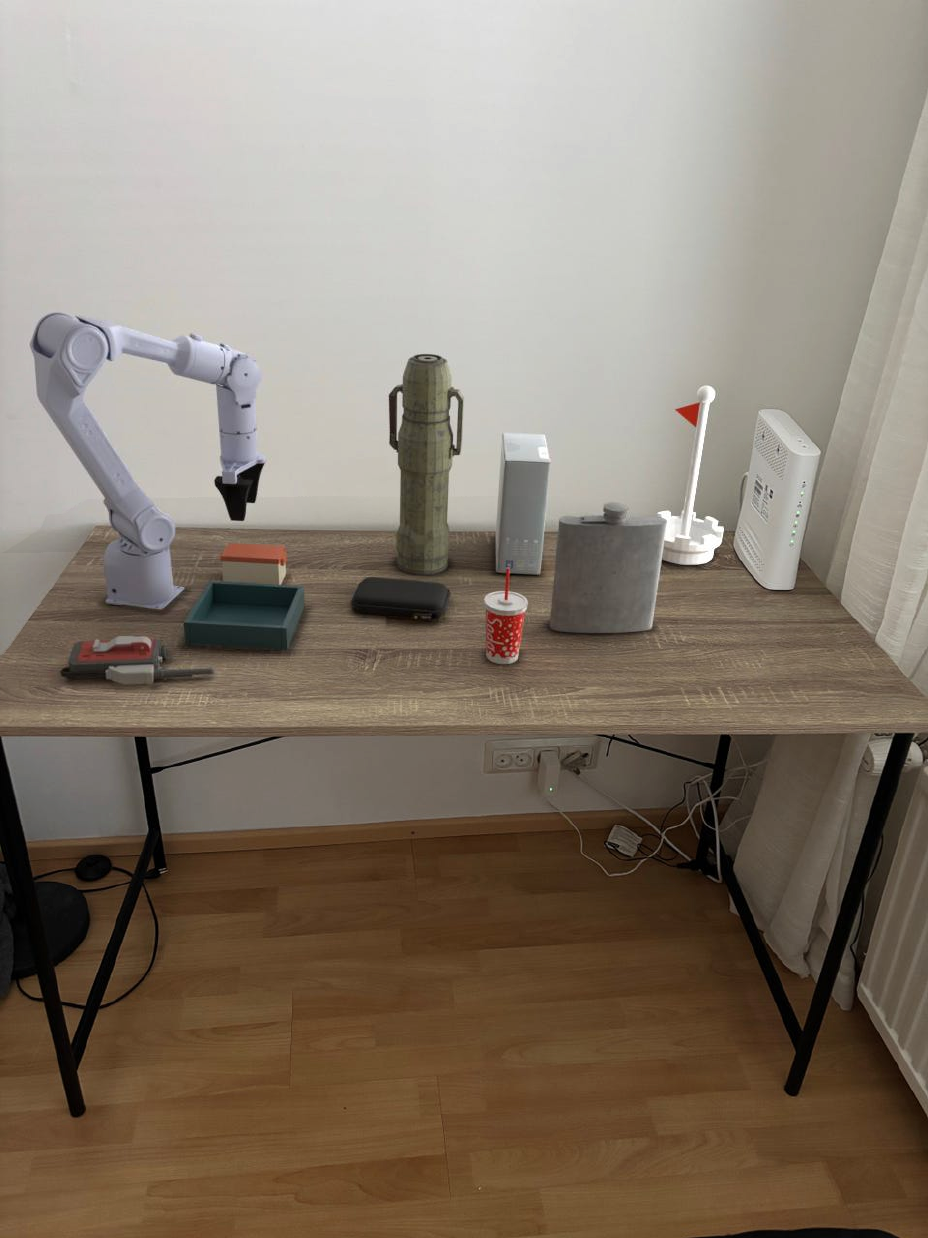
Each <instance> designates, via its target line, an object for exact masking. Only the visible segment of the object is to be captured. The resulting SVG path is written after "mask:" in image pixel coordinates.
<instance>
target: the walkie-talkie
mask: <svg viewBox="0 0 928 1238" xmlns="http://www.w3.org/2000/svg"><path fill="white" fill-rule="evenodd" d="M167 649H168V648H167V645H166V644H162V639H160V638H151V637H149V636H148V635H134V636H133V635H118V636H115V637H114V638H113V639H111V640H100V639H97V638H96V639H94V640H89V641H88V640H85V641H77V642H74V643H73V646H72V649H71V651H70V654H69V657H68V666H66V667H63V668H61V669H60V671H59V672H60V677H63V678H72V679H74V680H76V679H79V680H80V679H84V680H85V679H94V678H95V679H99V678H105V679H106V680H110V681H112V682H114V683H115V682H116V683H118V684H120V685H125V686H126V685H143V684H144V685H145V684H146V685H153V684H154V681H155V680H164V679H170V678H171V679H172V678H173V679H174V678H190V677H191V678H192V677H193V676H198V675H214V674H215V670H214V668H212V667H209V668H208V667H207V668H206V667H205V668H185V669H182V668H181V669H163V666H161V664H162V663H163V660H165V661H166V660H167V659H168V658H167V657H168V650H167Z"/></svg>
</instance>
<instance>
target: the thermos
mask: <svg viewBox="0 0 928 1238" xmlns="http://www.w3.org/2000/svg"><path fill="white" fill-rule="evenodd" d="M452 381H453V380H452V374H451V369H450V366H449V362H448V360H447V359H446V358H444V357H442V356H441V355H439V354H432V353H419V354H415V355H412V356H411V357H409V358H408V359H407V362H406V364H405V367H404V370H403V375H402V383H401V384H396V386H394V388H393V389H392V390H391V391H390V392H389V394H388V422H389V423H388V425H389V426H388V427H389V437H388V438H389V439H388V440H389V441H388V444H389V446H390V447H391V448H392V449H393V450H394V451H395V452H396V453H397V466H398V468H399V470H400V477H399V478H400V481H399V483H400V487H399V488H400V489H399V526H398V528H397V531H396V537H395V540H396V541H395V542H396V544H395V545H396V546H395V550H396V554H397V559H396V565H397V568H398V569H400V570H401V571H403V572H405V573H408V574H413V575H422V576H428V575H434V574H435V575H436V574H439V573H441V572H444V571H445V570H446V569H448V565H449V560H448V559H449V556H448V555H449V553H450V543H451V542H450V541H451V531H450V528H449V524H448V513H449V512H448V510H449V509H448V508H449V507H448V506H449V486H450V485H449V483H450V482H449V481H450V471H451V469H452V466H453V458H454V457H455V456H461V452H462V448H463V447H462V445H463V431H464V430H463V428H464V427H463V426H464V424H463V423H464V408H465V407H464V405H465V397H464V395H463V394H462V392H461V391H460V389H457V388H455V386H452ZM399 392H400V393H401V394H402V397H401V398H402V402H401V403H402V408H403V412H402V415H401V424H400V427H399V430H398V393H399ZM452 397H455V399H456V400H457V424H456V425H457V426H456V444H454V432H453V429H452V425H451V416H450V409H451V407H452V406H451V405H452Z"/></svg>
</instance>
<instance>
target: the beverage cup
mask: <svg viewBox="0 0 928 1238" xmlns="http://www.w3.org/2000/svg"><path fill="white" fill-rule="evenodd" d="M510 574H511V573H510V568H509V567H507V569H506V573H505V586H504V590H498V591H493V592H490V593H488V594H486V595H485V597H484V599H483V603H484V604H483V606H484V608H485V647H486V648H485V649H486V650H485V655H486V658H487V660H489V661H490V662H492V663H494V664H499V665H508V664H509V665H511V664H513V663H515V662H516V661H518V659H519V653H520V646H521V640H522V634H523V627H524V621H525V613H526V611H527V609H528V604H529V600H528V599H527V597H525V596H524V595H522V594H521V593H518V592H514V591H510V589H509V587H510Z"/></svg>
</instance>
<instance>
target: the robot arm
mask: <svg viewBox="0 0 928 1238" xmlns="http://www.w3.org/2000/svg"><path fill="white" fill-rule="evenodd" d="M74 317H75V318H76V319H75V318H73V316H71V315H69V314H66V313H64V312H60V311H56V312H55V311H54V312H50V313H47V314H46V315H44V316H42V317H41V318H40V319H39V320H38V322H37V323H36V326H35V328H34V331H33V334H32V336H31V339H30V342H29V347H30V350H31V353H32V356H33V361H34V373H35V387H36V396H37V399H38V401H39V402H40V404H41V406H42V407H43V409H44V410H45V411H46V413H47V414H48V416H49V418H50V419H51V420H52V422H53V423H54V425H55V426H56V429H58V431H59V433H60V434H61V435H62V437H63V439H64V440H65V441H66V443H67V444H68V446H69V447H70V448H71V450H72V452H73V453H74V455H75V456H76V457H77V459H78V460H79V462H80V463H81V465H82V466H83V468H84V469H85V471H86V472H87V474H88V475H89V477H90V479H91V480H92V481H93V483H94V484H95V486H96V487H97V489H98V490H99V491H100V492H101V494H102V496H103V498H104V499H103V501H102V502H103V504H104V506H105V508H106V509H107V512H108V520H109V524H110V526H111V527H112V529H113V530H114V531H115V532H117V533H118V538H119V539H118V540H113V541H111V542H110V543H109V544H108V545H107V547H106V549H105V551H104V555H103V571H104V579H105V586H106V594H107V598H106V599H105V604H107V605H112V606H113V605H114V606H120V607H122V605H126V606H133V607H140V608H141V607H142V608H146V609H153V610H163V609H164V608H165V607H166V606H168V605H169V604H170V603H171V602H172V601H173V600H174V599H175V598H176V597H178V595H179V594H181V593H182V591H184V590H185V586H179V585H174V579H173V570H172V559H171V550H170V545H171V543H172V542H173V540H174V538H175V536H176V525H175V524H176V523H175V522H174V520H173V518H172V517H171V516H170V515H169V514H167V513H166V512H163V511H161V510H160V509H159V508H158V507H157V505H156V503H155V502H154V501H153V500H152V499H151V498H150V497H149V495H147V494H146V492H145V491H143V489H142V488H141V487H140V486H139V484H138V483H137V481H136V478H134V476H133V475H132V473H131V472H130V470H129V468H128V467H127V465H126V464H125V462H124V461H123V459H122V457H121V456H120V454H119V453H118V451H117V449H115V446H114V445H113V443H112V442H111V440H110V439H109V437H108V435H107V434H106V433H105V431H104V429H103V428H102V426H101V424H100V423H99V422H98V420H97V419H96V417H95V415H94V414H93V411H91V408H90V407H89V406H88V404H87V403H86V401H85V400H84V395H85V393H86V390H87V388H88V386H89V385H90V384H91V382H92V381H93V379H94V378H95V376H96V375H98V372H99V371H100V370H101V368H102V367H103V365H104V364H105V362H106V361H107V360H108V361H109V362H114V361H115V360H116V359H117V358H118V357H120V356H121V355H122V354H126V355H130V356H135V357H139V358H144V359H147V360H151V361H157V362H160V363H165V364H166V365H167V366H168V367H169V369H170V371H171V373H172V374H173V375H176V376H178V377H183V378H187V379H190V380H193V381H194V380H195V381H198V382H203V383H206V384H210V385H215V388H216V389H215V390H216V405H217V416H218V418H217V419H218V433H219V444H220V445H219V446H220V455H219V462H220V465H221V469H222V470H221V475H216V477H215V478H214V480H213V481H214V486H215V488H216V489H217V490H218V492H219V493H220V495H221V497H222V499H223V501H224V504H225V507H226V511H227V515H228V518H229V519H230V521H232V522H244V521H245V518H246V515H247V504H255V503H256V501H257V497H258V491H259V490H258V489H259V484H260V478H261V475H262V472H263V468H264V467H265V464H266V461H267V456H266V455H264V454H260V453H259V442H258V441H259V440H258V421H257V405H256V399H257V389H258V387H259V385H260V383H261V381H262V377H263V371H262V370H261V369H260V367H259V364H258V362H257V361H256V359H254V357H253V356H251V355H249V354H247V353H244V352H242V351H239V350H237V349H235V348H231V347H230V345H229V344H226V343H222V342H220V343H219V344H215V343H212V342H208V341H205V340H203V337H202V336H201V335H200V334H197V333H192V332H190V333H189V335H184V334H183V335H179V336H177V337H176V338H174V339H173V340H168V339H164V338H162V337H158V336H156V335H153V334H149V333H146V332H143V331H141V330H140V331H139V330H137V329H133V328H130V327H127V326H124V325H121V324H118V323H115V322H112V321H108V320H103V319H97V318H94V317H87V316H84V315H83V316H81V315H74Z"/></svg>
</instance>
